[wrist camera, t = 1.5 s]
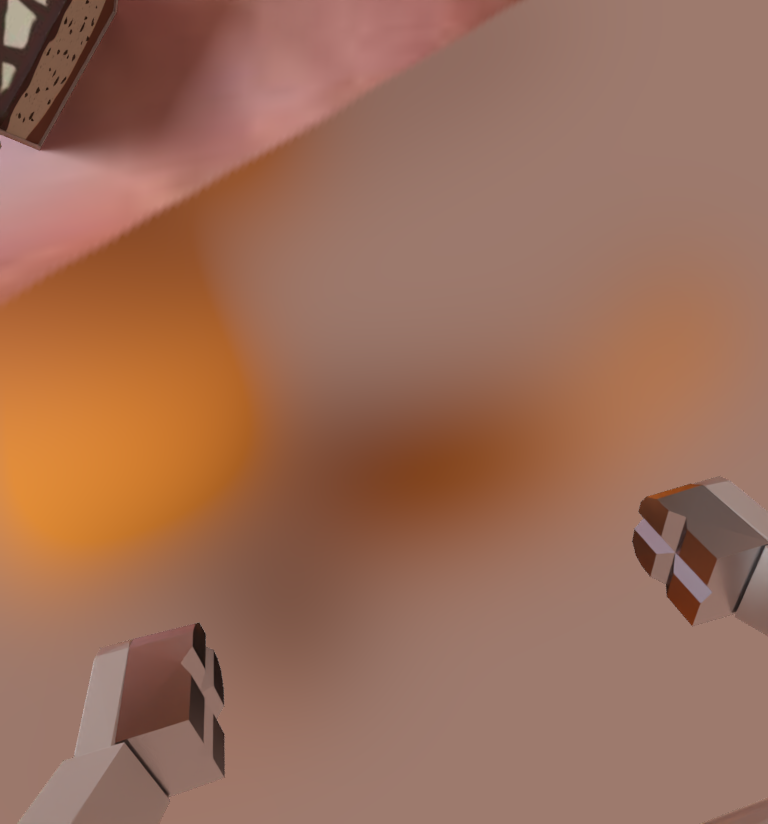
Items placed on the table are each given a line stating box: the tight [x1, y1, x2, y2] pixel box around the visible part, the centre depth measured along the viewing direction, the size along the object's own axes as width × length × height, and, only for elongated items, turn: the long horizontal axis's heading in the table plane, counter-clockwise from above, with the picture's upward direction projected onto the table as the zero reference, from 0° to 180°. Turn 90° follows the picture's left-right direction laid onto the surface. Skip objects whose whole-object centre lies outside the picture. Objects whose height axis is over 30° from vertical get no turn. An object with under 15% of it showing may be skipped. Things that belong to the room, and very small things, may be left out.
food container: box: [0, 0, 118, 150], centre depth 26 cm, size 12×6×10 cm, turn 146°
